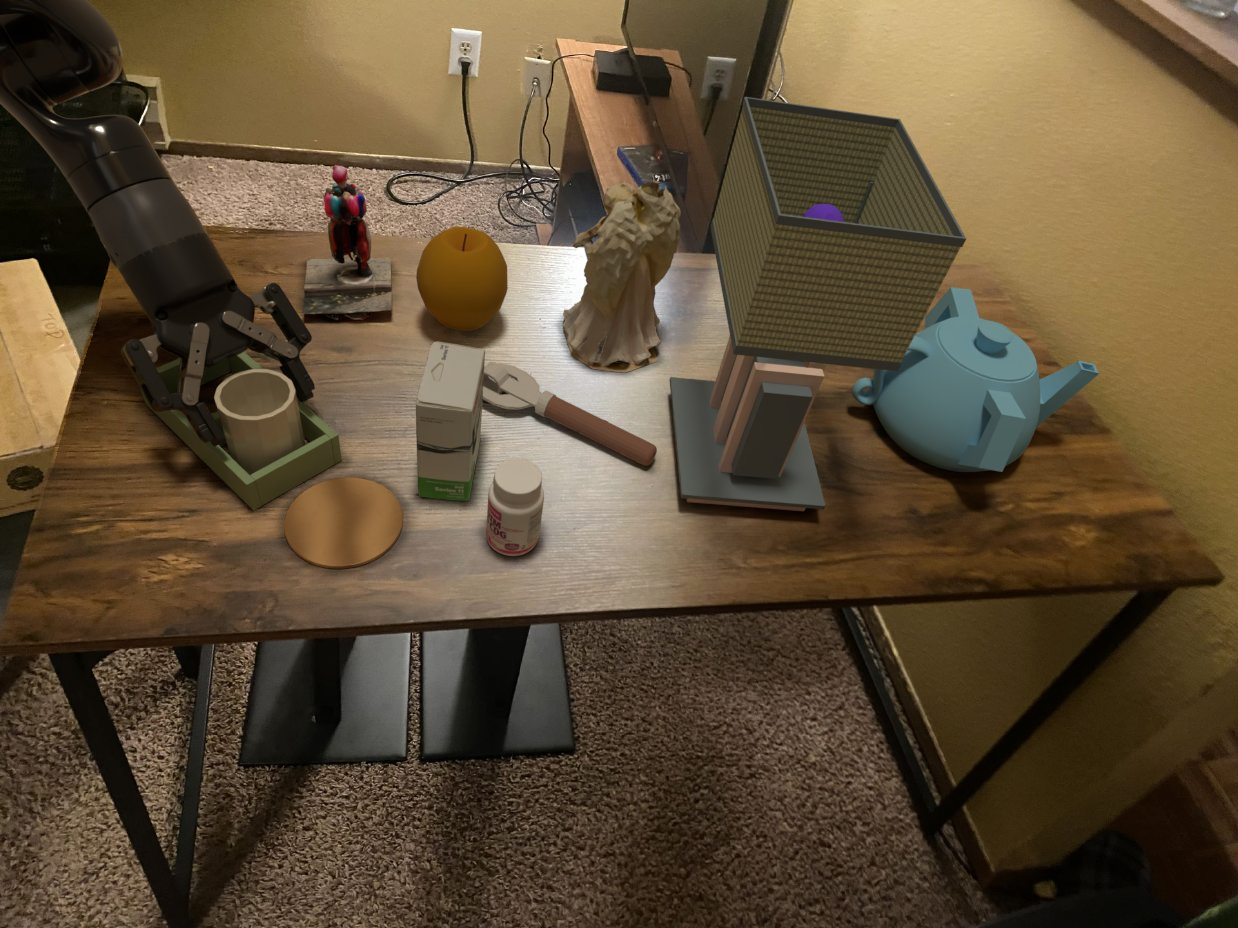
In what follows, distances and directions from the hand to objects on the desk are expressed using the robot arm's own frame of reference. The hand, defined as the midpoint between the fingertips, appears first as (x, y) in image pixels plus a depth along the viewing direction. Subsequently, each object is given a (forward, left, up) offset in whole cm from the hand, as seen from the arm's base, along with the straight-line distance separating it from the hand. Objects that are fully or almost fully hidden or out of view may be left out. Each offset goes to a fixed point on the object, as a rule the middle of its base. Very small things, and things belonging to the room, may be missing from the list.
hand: (265, 421), depth 74 cm
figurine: (+39, +6, -5) cm, 40 cm away
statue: (+14, +23, -5) cm, 27 cm away
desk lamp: (+43, -15, -5) cm, 46 cm away
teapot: (+69, -20, -5) cm, 72 cm away
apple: (+24, +14, -5) cm, 28 cm away
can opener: (+28, -4, -5) cm, 29 cm away
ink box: (+15, -6, -5) cm, 17 cm away
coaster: (+4, -9, -5) cm, 11 cm away
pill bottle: (+17, -16, -5) cm, 24 cm away
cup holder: (-2, +5, -5) cm, 7 cm away
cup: (0, +1, -5) cm, 5 cm away
